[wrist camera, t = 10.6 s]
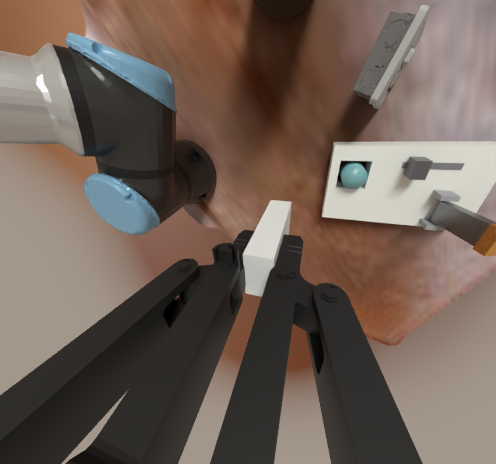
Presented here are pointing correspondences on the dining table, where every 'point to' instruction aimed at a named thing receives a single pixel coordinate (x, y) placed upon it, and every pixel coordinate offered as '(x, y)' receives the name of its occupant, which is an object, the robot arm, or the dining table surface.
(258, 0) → the olive oil
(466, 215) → the lever
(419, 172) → the slider
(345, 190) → the panel
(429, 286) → the dining table surface
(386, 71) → the electrical switch
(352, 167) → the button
